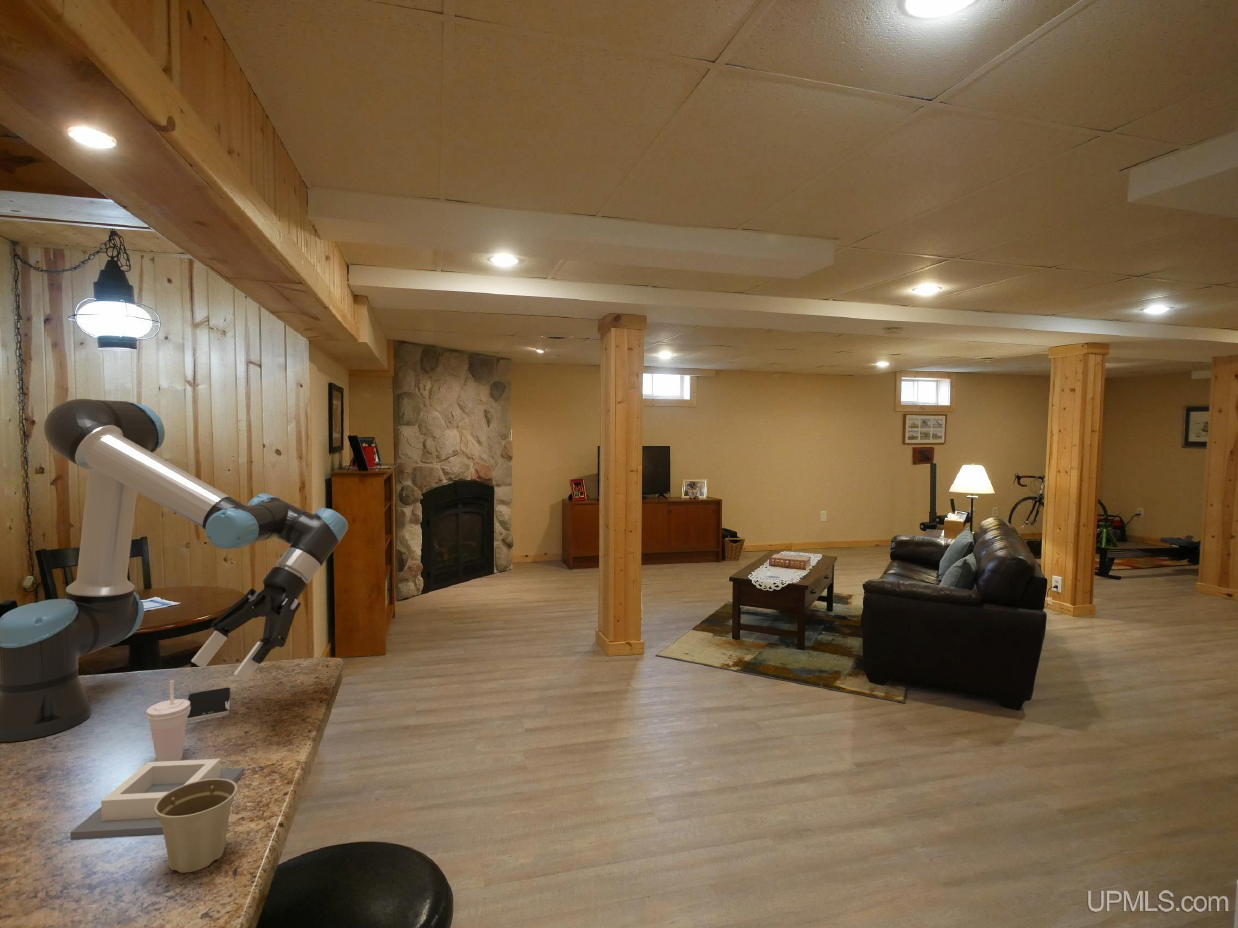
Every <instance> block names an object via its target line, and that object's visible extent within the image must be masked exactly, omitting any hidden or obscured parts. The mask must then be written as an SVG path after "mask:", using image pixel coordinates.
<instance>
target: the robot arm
mask: <svg viewBox="0 0 1238 928" xmlns="http://www.w3.org/2000/svg"><path fill="white" fill-rule="evenodd" d="M165 431H166V430H165V426H164V423H163V421H162V419H161V417H160V416H159V415H158V414H157V413H156V411H154V410H153V409H152V408H150V407H149V406H147V405H146V404H141V403H139V402H138V403H137V402H131V401H128V400H106V399H105V400H103V399H91V398H90V399H89V398H74V399H70V400H67V401H65V402H64V401H63V402H61V403H60V404H58V405H57V406H55V407H54V408H53V409H51V411H50V412H49V413H48V414H47V416H46V419H45V421H44V425H43V432H44V437H45V439H46V441H47V443H48V444H49V446H50V447H51V448H52V449H53V450H54V451H55V452H57V454H58V455H60V456H62V457H63V458H64V459H66V460H67V461H69V462H71V463H73V464H75V465H77V466H78V467H81V468H83V469H86V470H88V472H87V473H88V474H87V481H86V482H87V483H86V491H85V499H84V500H85V501H84V507H83V515H82V516H83V517H82V526H81V535H80V543H79V554H78V563H77V573H76V580H74V581H73V582H72V583H70V584H68V586H66V588H65V595H64V598H54V599H46V600H41V601H38V602H32V603H28V604H25V605H21V606H18V607H15V608H13V609H11V610H8V611H7V612H5V613H4V614H3V615H1V617H0V742H2V743H4V742H5V743H8V742H12V743H13V742H20V741H21V742H22V741H27V740H28V741H29V740H33V739H37V738H43V737H46V736H50V735H54V734H57V733H60V732H62V731H65V730H68V729H70V728H73V727H77V726H78V725H79V724H81V723H83V722H84V721H86V720H87V719H89V717H90V716H91V713H92V708H91V706H92V705H91V701H90V699H89V698H88V695H87V693H86V691H85V689H84V686H83V685H82V683H81V681H80V678H79V659H80V658H83V657H84V656H86V655H87V656H88V655H90V654H91V653H95V652H96V651H99V650H101V649H104V648H107V647H112V646H114V645H116V644H119V643H120V642H121V641H124V640H125V639H127V638H128V637H129V638H130V636H133V634H134V633H136V631H137V630H138V629H139V627H140V626H141V625H142V623H143V619H144V615H145V608H144V607H145V606H144V602H143V600H141V599H140V596H139V594H138V593H137V592H136V591H135V584H133V583H132V582H131V581H130V580H128V573H129V565H130V556H131V548H132V547H131V546H132V538H133V529H134V520H135V512H136V504H137V494H138V493H139V494H140V495H142V496H144V497H146V498H147V499H150V500H151V501H153V502H155V503H157V504H158V505H161V506H162V507H163V508H165V509H167V510H169V511H171V512H173V513H175V514H177V515H178V516H180V517H182V518H184V519H186V520H187V521H189V522H190V523H193V524H195V525H196V526H198V527H200V528H201V529H204V530H205V535H206V537H207V538H208V540H209V541H210V543H211V544H212V545H213V546H214V547H217V548H219V549H222V550H232V549H239V548H245V547H247V546H249V545H251V544H256V543H258V542H263V541H265V540H270V539H273V538H275V539H278V540H281V541H283V542H285V543H287V544H290V546H289V547H287V549H286V551H285V552H284V553H283V554H282V555H281V556H280V558H279V559H278V560H277V562H276V563H275V564H276V566H275V567H274V566H273V567H272V568H271V570H270V571H269V572H268V574H267V575H266V576H265V577H264V579H263V580H262V583H263V589H261V590H260V591H259V592H258V591H257V590H256V589H254V588H250V589H249V590H248V591H247V592H246V593H245V594H244V595H243V597H242V598H240V599H239V600H238V601H237V602H235V603H234V604H233V605H232V606H230V607H229V608H227V610H226V611H224V612H223V613H222V614H221V615H219V616H217V618H216V619H215V620H213V621H212V622H210V623H211V624H210V627H212V628H213V632H212V633H211V634H210V636H209V637H208V639H206V641H205V642H204V644H203V645H202V647H201V648H200V649H199V650H198V651H197V653H196V654H195V655H194V656H193V658H192V659H191V661H190V662H191V663H193V664H195V665H197V666H198V667H200V668H201V669H205V667H206V666H207V665H208V664H209V663H210V661H211V660H212V659H213V658H214V656H215V655H216V653H218V651H219V650H220V649H221V647H222V646H223V644H224V643H225V642H226V641H227V639H228V638H229V634H231V633H233V631H235V630H237V629H238V628H240V627H241V626H243V625H245V624H247V623H248V622H249V621H251V620H253V619H257V618H259V617H260V618H264V619H265V621H264V625H263V626H264V627H263V633H262V637H261V638H260V639H259V641H257V642H256V643H255V645H254V646H253V647H252V649H250V652H249V653H248V654H247V655H246V657H245V658H244V660H242V662H241V663H240V665H239V666H238V668H237V669H236V670H235V672H234V673H233V675H234V676H236V677H238V679H241V680H243V681H244V682H248V681H249V680H250V678H251V677H252V675H253V674H254V672H255V671H256V670H257V668H259V666H260V665H261V664H262V662H264V660H265V659H266V657H267V656H268V655H269V654H270V652H271V650H273V649H276V647H279V648H280V649H281V648H283V647H284V646H286V642H287V639H288V637H289V634H290V631H291V627H292V624H293V621H294V619H295V615H296V613H297V611H298V609H299V608H300V607H301V603H302V602H300V601H299V600H298V599H299V598H300V596H301V595H302V594H303V592H304V590H306V588H307V584H309V583H310V582H311V581H312V580H313V578H314V577H315V575H316V574H317V572H318V571H319V570H320V568H321V567H322V566H323V565H324V563H325V562H326V561H327V559H329V557H330V555H331V554H332V553H333V552H334V551H335V549H336V547H337V546H338V545H340V543H341V540H342V539H343V537H344V536H345V534H346V533H347V531H348V529H349V523H348V521H347V520H346V518H345V517H344V516H343V515H341V514H340V513H339V512H337V511H336V510H333V509H331V508H326V507H321V508H319V509H318V510H317V511H315V513H312V512H309V511H306V510H304V509H302V508H300V507H297V506H295V505H293V504H291V503H289V502H287V501H284V500H283V499H282V498H280V497H278V496H274V495H271V494H269V493H259V494H257V495H256V496H255V497H252V498H251V499H250V500H249V502H248V503H247V505H246V504H244V503H242V502H240V501H238V500H236V499H235V498H233V497H231V496H230V495H227V494H226V493H225V492H222V491H221V490H219V489H218V488H215V487H214V486H212V485H210V484H208V483H206V482H205V481H203V480H201V479H200V478H197V477H196V476H194V475H192V474H191V473H188V472H187V471H185V470H184V469H181V468H180V467H178V466H176V465H174V464H173V463H171V462H169V461H167V460H166V459H164V458H162V457H160V456H158V455H156V454H155V452H156V451H157V450H158V449H159V448H161V447H162V445H163V443H164V440H165V435H166V432H165Z"/></svg>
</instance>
